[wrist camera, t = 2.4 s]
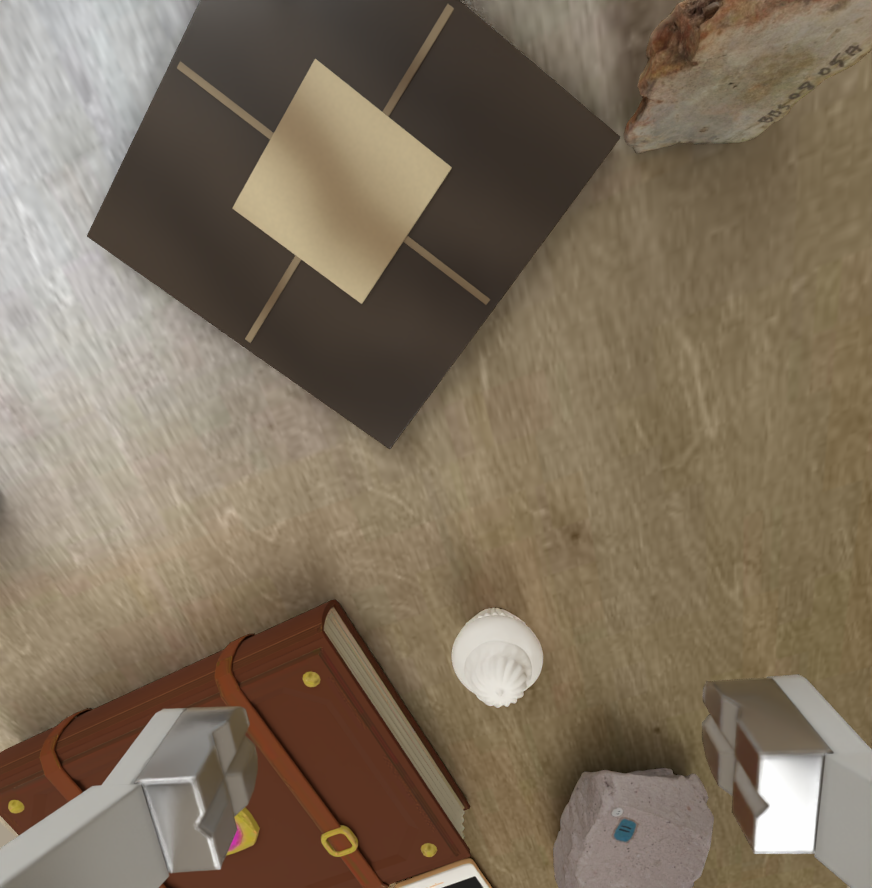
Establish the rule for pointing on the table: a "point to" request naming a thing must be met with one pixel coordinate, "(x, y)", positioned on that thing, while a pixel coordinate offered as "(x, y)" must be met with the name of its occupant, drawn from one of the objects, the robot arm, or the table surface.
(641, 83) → the rock
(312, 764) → the book
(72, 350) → the table surface
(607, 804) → the decorative stone
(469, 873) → the cell phone
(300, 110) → the board
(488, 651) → the muffin
